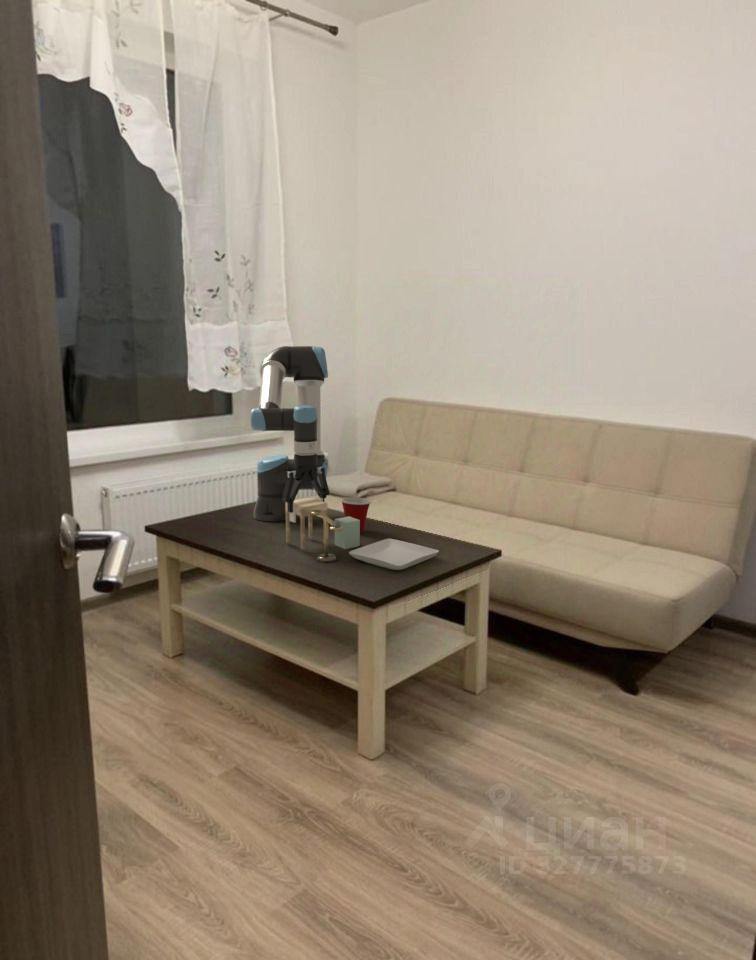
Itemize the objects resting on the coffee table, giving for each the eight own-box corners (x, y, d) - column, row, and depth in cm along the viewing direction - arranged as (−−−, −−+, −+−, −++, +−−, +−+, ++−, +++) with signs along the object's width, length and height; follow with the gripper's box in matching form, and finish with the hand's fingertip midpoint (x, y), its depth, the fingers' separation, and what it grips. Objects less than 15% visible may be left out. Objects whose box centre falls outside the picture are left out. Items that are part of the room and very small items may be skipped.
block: (334, 544, 254) (334, 519, 252) (348, 541, 258) (349, 516, 256) (345, 549, 249) (345, 523, 247) (359, 545, 253) (359, 520, 251)
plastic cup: (377, 532, 269) (377, 499, 266) (354, 538, 262) (354, 504, 259) (357, 525, 277) (357, 494, 274) (334, 531, 270) (334, 498, 267)
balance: (305, 555, 243) (305, 510, 239) (321, 551, 246) (321, 507, 243) (332, 567, 231) (332, 520, 228) (347, 563, 235) (347, 517, 232)
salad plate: (388, 546, 254) (388, 536, 253) (440, 559, 241) (440, 549, 240) (346, 561, 238) (346, 551, 237) (399, 576, 225) (400, 565, 224)
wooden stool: (286, 541, 253) (285, 501, 250) (310, 536, 260) (310, 497, 256) (302, 549, 246) (301, 507, 243) (327, 543, 252) (327, 503, 249)
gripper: (282, 458, 236) (283, 527, 241) (340, 451, 250) (340, 516, 255) (269, 455, 242) (271, 521, 247) (327, 448, 256) (327, 511, 261)
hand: (306, 518), depth 251 cm, fingers closed on wooden stool, 10 cm apart
